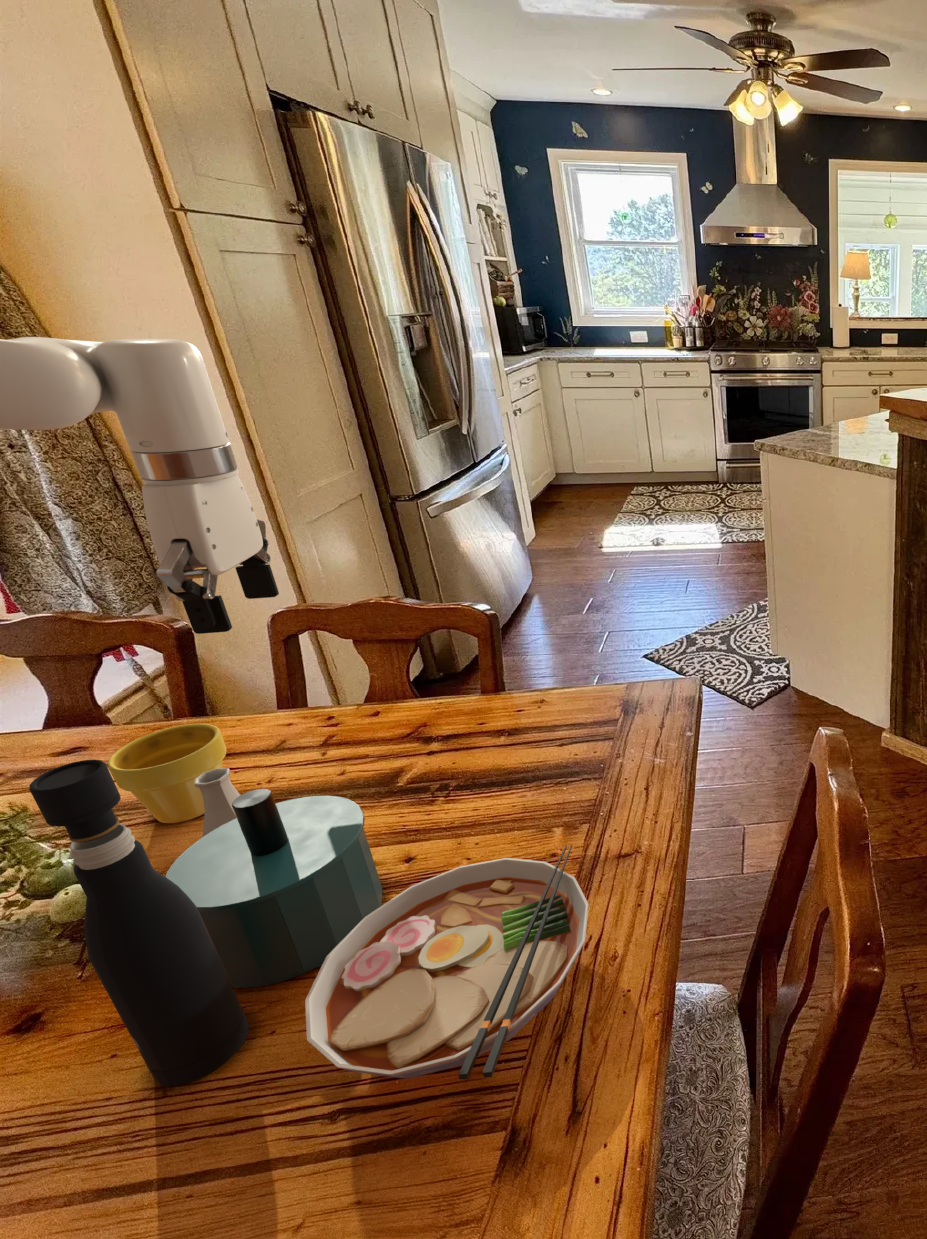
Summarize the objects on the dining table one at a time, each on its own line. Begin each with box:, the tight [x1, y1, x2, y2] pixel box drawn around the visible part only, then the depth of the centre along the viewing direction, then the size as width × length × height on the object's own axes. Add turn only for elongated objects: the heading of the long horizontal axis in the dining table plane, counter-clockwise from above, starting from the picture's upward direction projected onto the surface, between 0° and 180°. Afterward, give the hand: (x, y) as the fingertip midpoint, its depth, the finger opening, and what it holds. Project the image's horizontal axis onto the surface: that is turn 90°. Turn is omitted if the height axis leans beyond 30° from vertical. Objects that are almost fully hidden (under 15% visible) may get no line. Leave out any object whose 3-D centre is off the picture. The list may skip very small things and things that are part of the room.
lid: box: [164, 788, 366, 911], centre depth 70 cm, size 16×16×7 cm
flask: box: [194, 767, 241, 838], centre depth 84 cm, size 7×7×10 cm
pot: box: [199, 827, 383, 989], centre depth 73 cm, size 15×15×10 cm
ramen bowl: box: [304, 844, 589, 1081], centre depth 66 cm, size 25×23×8 cm
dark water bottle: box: [28, 758, 250, 1087], centre depth 57 cm, size 6×6×30 cm
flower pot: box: [107, 723, 228, 824], centre depth 90 cm, size 10×10×10 cm
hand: (239, 613), depth 79 cm, fingers open, 9 cm apart
